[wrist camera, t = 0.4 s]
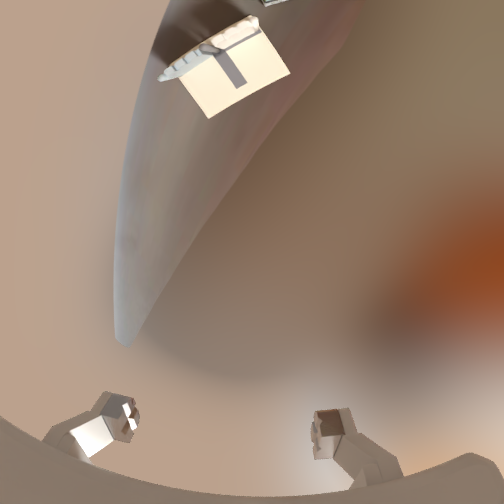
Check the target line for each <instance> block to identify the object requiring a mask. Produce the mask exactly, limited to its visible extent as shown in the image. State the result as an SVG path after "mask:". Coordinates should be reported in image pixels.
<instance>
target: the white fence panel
mask: <svg viewBox="0 0 504 504" xmlns="http://www.w3.org/2000/svg"><path fill="white" fill-rule="evenodd" d="M258 30H259V23H258V18H257V17H251V18H250V20H248V21H245V20H244V21H243V22H241V23H239V24H237V26H236V27H234V28H233V27H231V28H230V29H228V30H226V31H224V32H225V33H224V34H219V35H217V36H216V37H214V38H213V40H212V41H211V42H212V44H213V45H214V46H212V45H209V44H205V43H202V44H200V45H199V49H200V50H202V51H208V52H214V53H218V52H220V48H221V49H225V48H227V47H229V46H231V45H232V44H234V43H236V42H238V41H240V40H241V39H243V38H245V37H247V36H249V35H251V34H253V33H255V32H257V31H258Z"/></svg>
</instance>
